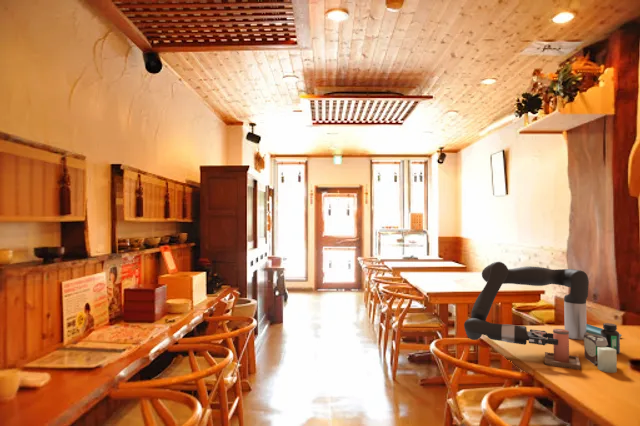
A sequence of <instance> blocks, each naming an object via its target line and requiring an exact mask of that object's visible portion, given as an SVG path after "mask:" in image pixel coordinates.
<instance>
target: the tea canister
mask: <svg viewBox="0 0 640 426" xmlns="http://www.w3.org/2000/svg"><path fill="white" fill-rule="evenodd" d="M552 334H553V339H558V345H553V353H554V360H555V361H557V362H564V363H568V362H569V355H570V338H569V331H567V330H565V328H564V329H563V328H554V329H552Z"/></svg>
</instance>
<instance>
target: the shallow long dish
mask: <svg viewBox="0 0 640 426" xmlns="http://www.w3.org/2000/svg"><path fill="white" fill-rule="evenodd" d="M586 326H587V333H588V334H595V335H599V336H601V330H603V329H604V328H603V327H602V328H601V327H597V326H595V325H591V324H588V323H586ZM619 334H620V338H621V337H622V336H623V335H622V333H619Z"/></svg>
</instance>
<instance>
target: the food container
mask: <svg viewBox="0 0 640 426" xmlns="http://www.w3.org/2000/svg"><path fill="white" fill-rule="evenodd" d="M583 338H584V339H583V346H584V347H583V348H584V359H586V360H587V361H589V362H590V363H591V364H593V365H594V366H597V367H598V354H597V347H606V346H607V345H608V342H607V340H606V338H605V337H602V336H599V335H595V334H590V333H584V335H583Z"/></svg>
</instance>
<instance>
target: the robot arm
mask: <svg viewBox="0 0 640 426" xmlns="http://www.w3.org/2000/svg"><path fill="white" fill-rule="evenodd" d="M481 277H482V279H483V280H484V282H486V284H485V286H484V287H483V289H482V290H481V291H480V293H479V294H478V296H477V297H476V299H475V302H474V303H473V306H472V309H471V313H470V315H471V316H470V318H468V319H466V320H465V321H464V323H463V326H464V327H463V328H464V331H465V334H466V336H467V337H468V339H470V340H472V341H476V340H479V339H481V337H482V336H486V337H487V338H488V339H490V340H493V341H497V342H498V341H499V342H506V343H510V344H516V345H527V341H528V344H532V345H538V346H539V345H540V346H546V345H552V346H554V345H558V339H553V332H552V333H551V332H547V331H546V330H538V329H529V331H528V330H527V329H528V328H527V326H525V325H517V324H507V323H506V324H503V323H501V324H500V323H495V322H494V323H493V322H489V321H487V318H488V316H489V314H490V311H491V308H492V306H493V303H494V301H495V299H496V296H497V294H498V293H499V291H500V289H501V287H502V285H504V284H505V285H507V284H508V285H509V284H511V285H524V286H532V287H534V286H535V287H543V286H547V285H557V286H562V287H567V288H570V290H569V291H570V292H569V294H565V295H564V297H563V304H564V305H563V307H564V308H563V310H564V312H563V313H564V316H563V317H564V319H563V320H564V330H567V331H569V339H573V340H583V341H584V338H583V335H584V333H587V326H586V324H587V299H588V297H589V277H588V275H587V272H586V271H583V270H581V269H580V270H579V269H575V268H574V269H573V268H564V269H562V268H561V269H560V268H559V269H552V268H546V267H542V266H540V267H539V266H529V265H528V266H520V267H515V268H508V266H507V265H506V264H505V263H504V262H502V261H493V262H492V263H490V264H488V265H487V266H486V267H484V269H482V272H481Z"/></svg>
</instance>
